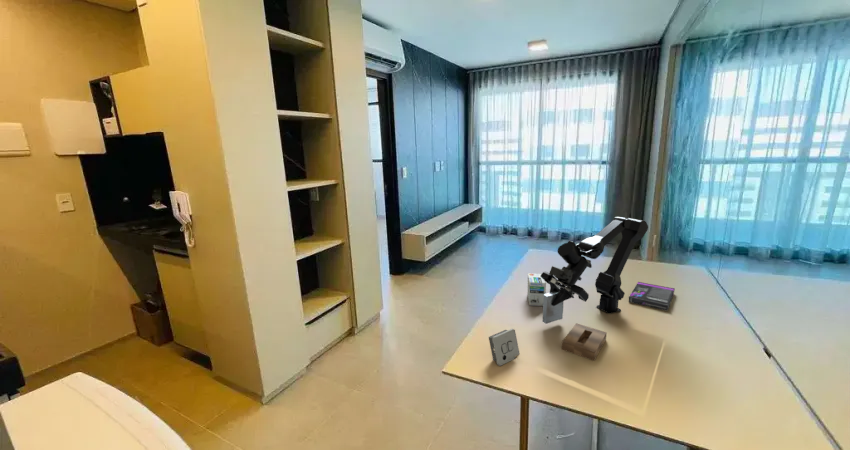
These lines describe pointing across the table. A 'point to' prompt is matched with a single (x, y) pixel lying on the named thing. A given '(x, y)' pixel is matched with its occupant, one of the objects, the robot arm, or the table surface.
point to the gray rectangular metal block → (551, 308)
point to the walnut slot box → (584, 341)
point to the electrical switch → (504, 346)
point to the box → (652, 296)
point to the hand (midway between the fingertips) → (550, 304)
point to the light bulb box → (536, 289)
